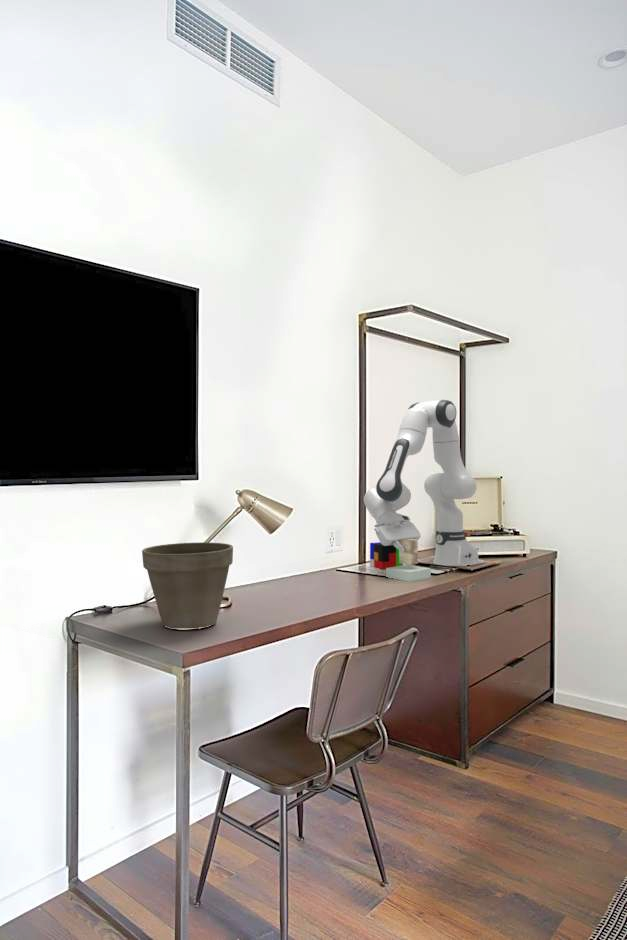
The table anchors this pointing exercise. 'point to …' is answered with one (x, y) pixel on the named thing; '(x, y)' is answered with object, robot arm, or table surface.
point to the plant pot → (188, 581)
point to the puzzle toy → (383, 556)
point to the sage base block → (408, 573)
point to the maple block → (409, 552)
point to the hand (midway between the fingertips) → (409, 550)
